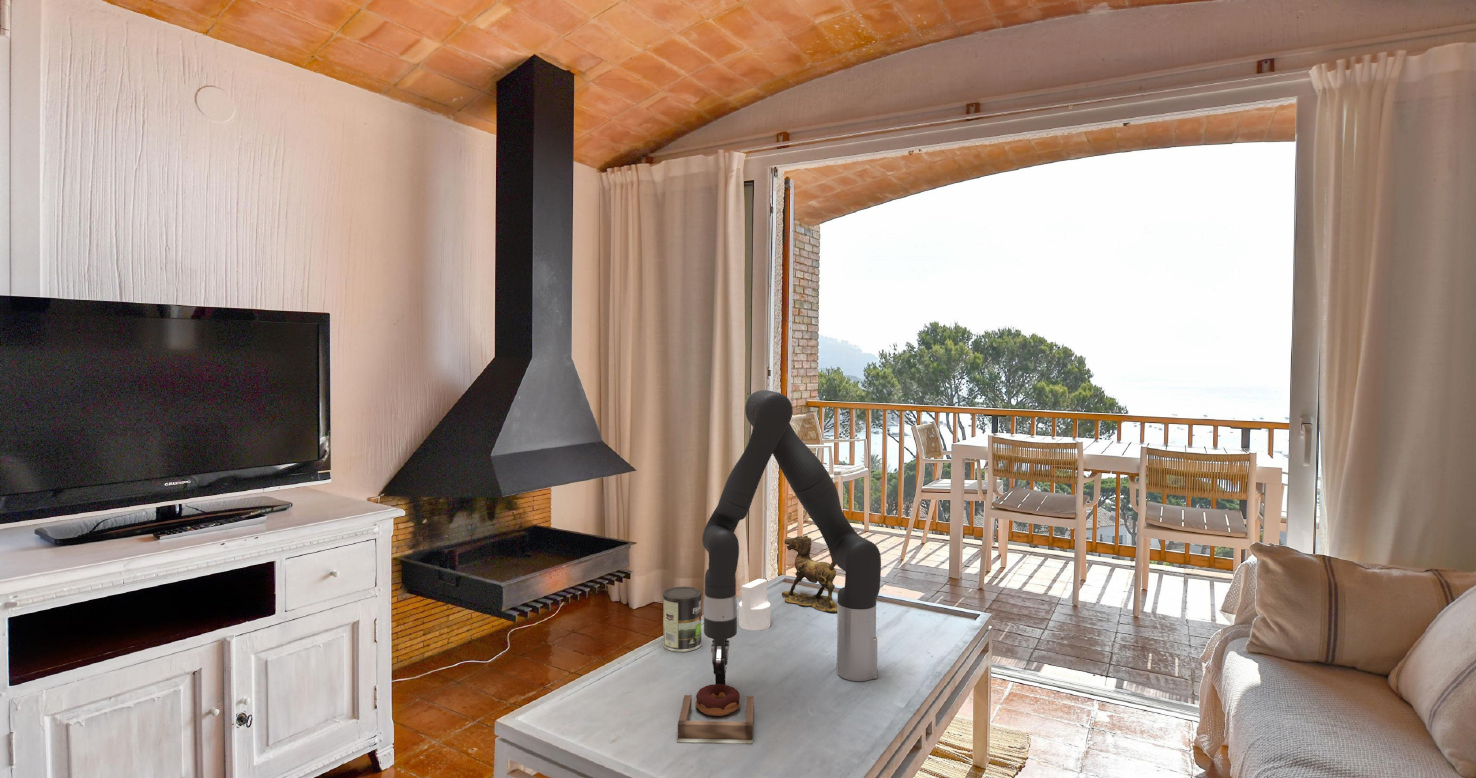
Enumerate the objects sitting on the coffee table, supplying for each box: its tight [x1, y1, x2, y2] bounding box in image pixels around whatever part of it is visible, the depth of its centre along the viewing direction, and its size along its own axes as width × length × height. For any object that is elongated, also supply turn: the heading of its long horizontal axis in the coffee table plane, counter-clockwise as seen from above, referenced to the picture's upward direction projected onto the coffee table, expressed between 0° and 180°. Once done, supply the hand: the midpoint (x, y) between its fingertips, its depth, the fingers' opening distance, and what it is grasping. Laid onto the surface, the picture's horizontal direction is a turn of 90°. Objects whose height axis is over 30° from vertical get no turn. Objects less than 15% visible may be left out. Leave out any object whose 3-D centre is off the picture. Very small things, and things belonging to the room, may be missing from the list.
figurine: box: [781, 535, 837, 615], centre depth 225 cm, size 13×25×20 cm, turn 42°
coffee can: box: [662, 586, 703, 653], centre depth 193 cm, size 10×10×14 cm
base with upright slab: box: [738, 578, 771, 632], centre depth 208 cm, size 9×9×12 cm
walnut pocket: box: [676, 694, 755, 745], centre depth 151 cm, size 15×14×3 cm
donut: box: [694, 683, 741, 717], centre depth 159 cm, size 10×10×4 cm
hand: (720, 688), depth 166 cm, fingers closed
